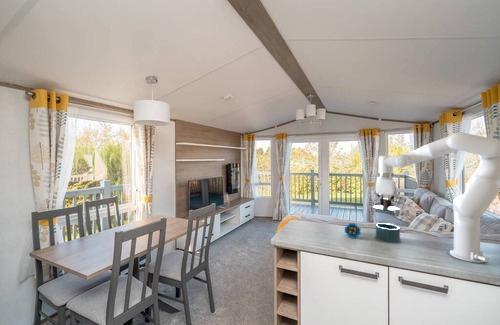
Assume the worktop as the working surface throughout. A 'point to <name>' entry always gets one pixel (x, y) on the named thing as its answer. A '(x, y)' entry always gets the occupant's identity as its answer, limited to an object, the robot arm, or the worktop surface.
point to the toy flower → (352, 230)
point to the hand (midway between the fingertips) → (385, 205)
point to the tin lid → (385, 207)
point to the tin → (388, 233)
